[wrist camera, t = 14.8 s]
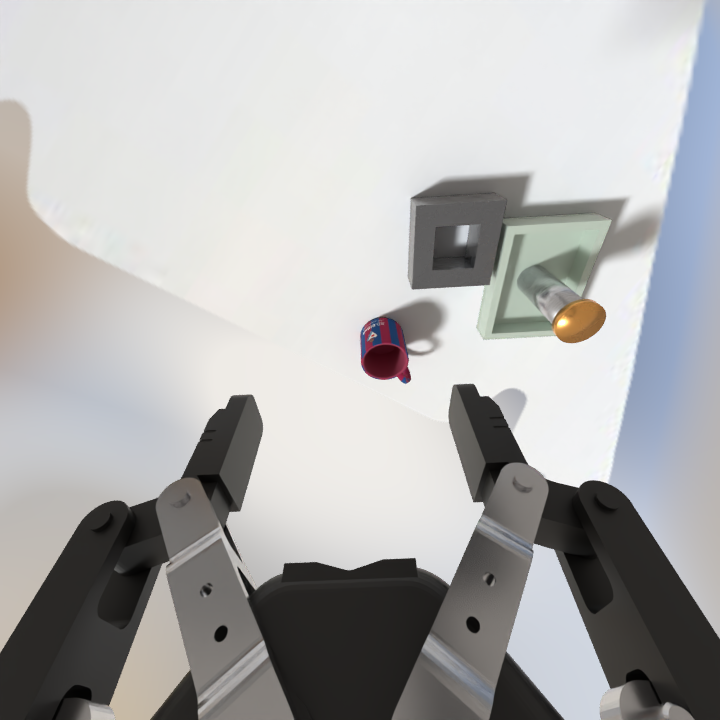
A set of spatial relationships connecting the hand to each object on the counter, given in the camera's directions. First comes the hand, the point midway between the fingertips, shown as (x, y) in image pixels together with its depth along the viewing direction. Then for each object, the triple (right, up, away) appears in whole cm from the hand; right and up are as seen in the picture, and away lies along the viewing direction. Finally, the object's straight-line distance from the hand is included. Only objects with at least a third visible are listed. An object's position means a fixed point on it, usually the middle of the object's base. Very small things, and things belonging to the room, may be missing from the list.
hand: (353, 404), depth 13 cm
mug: (+5, +5, +38) cm, 39 cm away
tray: (+24, +14, +32) cm, 42 cm away
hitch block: (+12, +18, +28) cm, 35 cm away
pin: (+24, +13, +31) cm, 41 cm away
